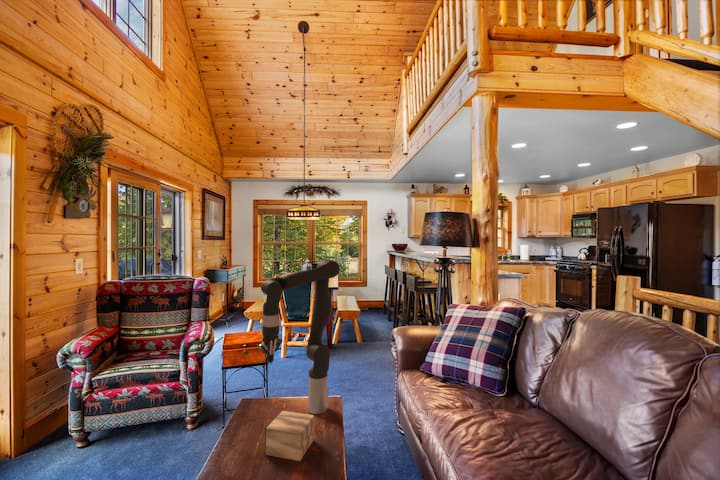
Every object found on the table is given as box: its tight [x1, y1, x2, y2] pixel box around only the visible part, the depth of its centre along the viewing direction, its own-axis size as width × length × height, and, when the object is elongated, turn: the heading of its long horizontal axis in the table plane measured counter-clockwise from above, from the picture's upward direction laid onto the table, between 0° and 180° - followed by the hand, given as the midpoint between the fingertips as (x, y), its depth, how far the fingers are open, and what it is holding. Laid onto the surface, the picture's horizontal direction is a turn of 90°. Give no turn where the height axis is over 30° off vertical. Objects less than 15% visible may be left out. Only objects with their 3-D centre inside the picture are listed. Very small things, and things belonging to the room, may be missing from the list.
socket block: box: [264, 410, 315, 462], centre depth 137 cm, size 14×15×10 cm
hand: (270, 362), depth 152 cm, fingers closed
